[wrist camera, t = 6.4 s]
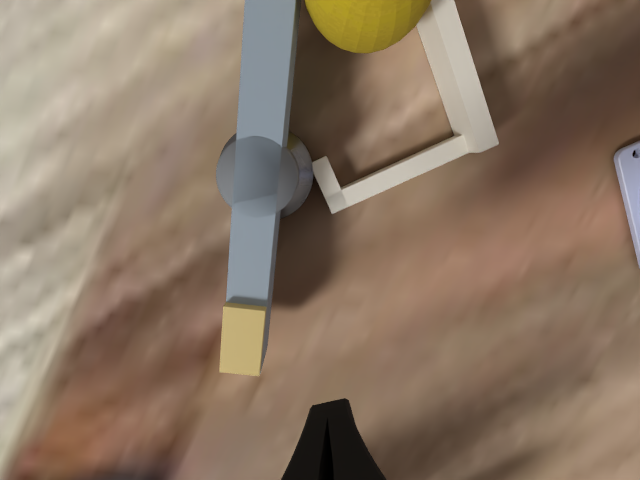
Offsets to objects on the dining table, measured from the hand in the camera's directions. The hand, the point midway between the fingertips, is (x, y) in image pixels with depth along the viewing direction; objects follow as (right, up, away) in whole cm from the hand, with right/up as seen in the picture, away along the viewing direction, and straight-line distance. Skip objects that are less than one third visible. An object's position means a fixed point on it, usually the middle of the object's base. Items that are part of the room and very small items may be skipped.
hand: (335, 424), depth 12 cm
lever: (-3, +10, +6) cm, 12 cm away
